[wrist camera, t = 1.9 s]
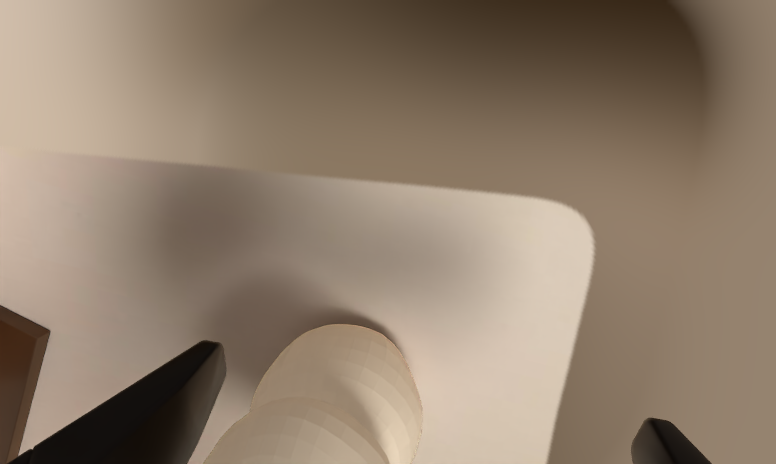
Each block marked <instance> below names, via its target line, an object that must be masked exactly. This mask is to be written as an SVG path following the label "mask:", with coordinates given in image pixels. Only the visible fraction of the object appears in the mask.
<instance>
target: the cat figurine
mask: <svg viewBox="0 0 776 464" xmlns="http://www.w3.org/2000/svg"><path fill="white" fill-rule="evenodd" d="M422 409H423V407H422V404H421V400H420V396H419V393H418V390H417V387H416V384H415V382H414V379H413V377H412V374H411V372H410V370H409V367H408V365H407V363H406V361H405V360H404V358H403V357H402V355H401V353H400V352H399V350H398V349H397V348H396V346H395V345H394V344H393V343H392V342H391V341H390V340H389V339H387V338H386V337H385V336H384V335H383V334H381V333H379V332H377V331H374V330H372V329H369V328H366V327H362V326H357V325H349V324H332V325H325V326H322V327H319V328H316V329H313V330H310V331H307V332H305V333H303V334H302V335H301V336H299V337H298V338H297V339H295V340H294V341H293V342H292V343H291V344H289V345H288V346H287V347H286V348H285V349H284V350H283V351H282V352H281V354H280V355H279V356H278V357H277V359H276V360H275V361H274V363H273V364H272V365H271V366H270V368H269V369H268V370H267V372H266V373H265V374H264V376H263V378H262V380H261V382H260V383H259V385H258V387H257V389H256V392H255V394H254V396H253V399H252V403H251V408H250V413H249V414H247V415H246V416H244V417H243V418H242V419H240V420H239V421H238V422H236V423H235V424H234V425H233V426H232V427H231V428H230V429H229V430H228V431H227V432H226V433H225V434H224V435H223V436H222V437H221V439H220V440H219V442H218V443H217V445H216V446H215V447H214V449H213V450H212V452H211V453H210V455H209V456H208V457H207V459H206V460H205V462H204V463H203V464H411V463H412V461H413V459H414V457H415V454H416V450H417V447H418V443H419V440H420V436H421V432H422Z"/></svg>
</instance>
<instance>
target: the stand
mask: <svg viewBox="0 0 776 464" xmlns="http://www.w3.org/2000/svg"><path fill="white" fill-rule="evenodd" d="M49 333H50V331H49V330H47V329H45V328H43V327H41V326H39V325H37V324H35V323H33V322H31V321H29V320H27V319H25V318H23V317H21V316H19V315H17V314H15V313H13V312H11V311H9V310H7V309H5V308H3V307H1V306H0V464H7V463H9V462H10V461H12V460H13V459H15V458H16V457H17V456H18V452H19V448H20V444H21V441H22V437H23V433H24V429H25V425H26V421H27V418H28V414H29V410H30V406H31V402H32V398H33V395H34V391H35V387H36V383H37V379H38V375H39V372H40V368H41V364H42V360H43V356H44V352H45V348H46V345H47V341H48V337H49Z"/></svg>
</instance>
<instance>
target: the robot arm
mask: <svg viewBox="0 0 776 464" xmlns="http://www.w3.org/2000/svg"><path fill="white" fill-rule="evenodd" d="M225 376H226V362H225V356H224V350H223V346H222V344H221V343H219V342H214V341H208V340H203V341H201V342H199V343H197V344H196V345H194V346H192V347H191V348H189V349H188V350H186V351H185V352H183V353H181V354H180V355H178V356H177V357H175V358H173V359H172V360H170V361H169V362H167V363H166V364H164V365H162V366H161V367H159V368H158V369H156V370H154V371H153V372H151V373H150V374H148V375H147V376H145V377H143V378H142V379H140V380H139V381H137V382H135V383H134V384H132V385H131V386H129V387H128V388H126V389H124V390H123V391H121V392H120V393H118V394H116V395H115V396H113V397H112V398H110V399H109V400H107V401H105V402H104V403H102V404H101V405H99V406H97V407H96V408H94V409H93V410H91V411H90V412H88V413H86V414H85V415H83V416H82V417H80V418H78V419H77V420H75V421H74V422H72V423H71V424H69V425H67V426H66V427H64V428H63V429H61V430H59V431H58V432H56V433H55V434H53V435H52V436H50V437H48V438H47V439H45V440H44V441H42V442H40V443H39V444H37V445H36V446H35V447H34V448H33V450H32V449H29V450H28V451H26V452H24V453H23V454H21V455H20V456H18V457H16V458H15V459H13V460H12V461H10V462H9V463H7V464H187V463H188V461H189V459H190V457H191V455H192V453H193V451H194V449H195V448H196V446H197V444H198V441H199V439H200V437H201V435H202V432H203V430H204V427H205V425H206V423H207V420H208V418H209V415H210V413H211V411H212V408H213V406H214V404H215V401H216V399H217V396H218V394H219V392H220V389H221V387H222V384H223V382H224V379H225ZM631 454H632V461H633V464H711V462H710V461H708V460H707V458H706V457H705V456H704V455H703V454H702V453H701V452H700V451H699V450H698V449H697V448H696V447H695V446H694V445H693V444H692V443H691V442H690V441H689V440H688V439H687V438H686V437H685V436H684V435H683V434H682V433H681V432H680V431H679V430H678V428H677V427H675V426H674V425H673V424H672V423H671V422H669V421H666V420H661V419H656V418H647V419H646V420H645V421H644V422H643V424H642V426H641V428H640V429H639V431H638V433H637V435H636V436H635V438H634V440H633V442H632V447H631Z"/></svg>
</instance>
